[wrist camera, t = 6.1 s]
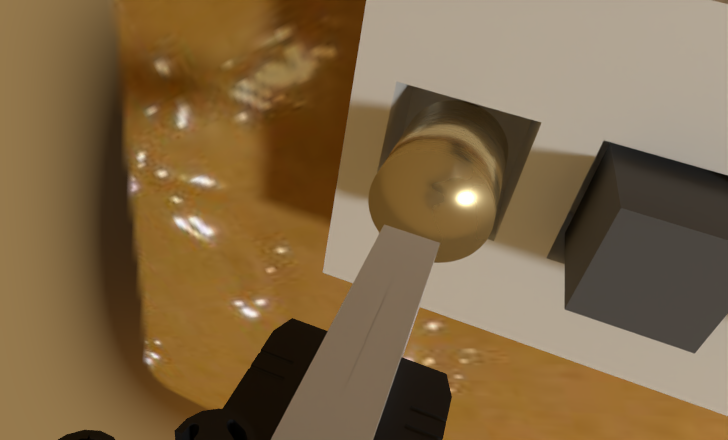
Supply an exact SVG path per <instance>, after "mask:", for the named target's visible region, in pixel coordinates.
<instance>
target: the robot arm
mask: <svg viewBox="0 0 728 440" xmlns="http://www.w3.org/2000/svg"><path fill="white" fill-rule="evenodd" d="M439 245H440V243H439V242H436V241H433V240H430V239H427V238H424V237H421V236H418V235H415V234H412V233H409V232H406V231H403V230H399V229H396V228H393V227H390V226H387V225H384V226H383V228H382V229H381V231H380V233H379V235H378V237H377V239H376V241H375V243H374V245H373V247H372V248H371V250H370V252H369V254H368V256H367V258H366V260H365V262H364V264H363V266H362V267H361V269H360V271H359V273H358V275H357V277H356V279H355V281H354V283H353V285H352V286H351V288H350V290H349V292H348V294H347V296H346V298H345V300H344V302H343V303H342V305H341V307H340V309H339V311H338V313H337V315H336V317H335V319H334V321H333V322H332V324H331V326H330V328H329V330H328V331H326V330H323V329H320V328H317V327H315V326H312V325H309V324H307V323H304V322H301V321H299V320H296V319H293V318H292V319H290V320H289V321H287V322H286V323H284V324H283V325H281V326H280V327H278V328H277V329H275V330H274V331H273V332H272V334H271V335H270V337H269V338H268V340H267V341H266V343H265V344H264V346H263V347H262V349H261V352H260V353H259V354H258V355H257V357H256V358H255V360H254V361H253V363H252V364H251V367H250V369H248V371H247V372H246V374H245V375H244V377H243V378H242V380H241V381H240V383H239V384H238V386H237V387H236V389H235V391H234V392H233V394H232V395H231V397H230V398H229V400H228V401H227V403H226V404H225V406H224V407H223V409H213V410H206V411H201V412H199V413H197V414H195V415H194V416H191V417H190V418H187V419H186V420H185V421H184V422H183V423H182V424H181V425H180V426H179V427H178V428H177V429H176V430H175V440H442V439H443V435H444V430H445V425H446V420H447V416H448V412H449V407H450V402H451V398H452V396H451V392H450V388H449V383H448V379H447V375H446V374H445V373H443V372H440V371H437V370H435V369H432V368H429V367H426V366H424V365H421V364H418V363H416V362H413V361H410V360H408V359H405V358H402V357H403V354H404V351H405V348H406V346H407V343H408V340H409V337H410V334H411V331H412V328H413V325H414V322H415V319H416V316H417V313H418V310H419V307H420V304H421V301H422V297H423V294H424V291H425V288H426V285H427V282H428V279H429V276H430V273H431V270H432V267H433V263H434V260H435V257H436V254H437V251H438V248H439ZM58 440H115V439H114V437H112V436H110V435H108V434H106V433H104V432H102V431H94V430H82V431H78V432H75V433H71V434H67V435H65V436H63V437H62V438H60V439H58Z"/></svg>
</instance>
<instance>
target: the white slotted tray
mask: <svg viewBox="0 0 728 440" xmlns="http://www.w3.org/2000/svg"><path fill="white" fill-rule="evenodd" d="M446 100H460V101H465V102H470V103H472V104H475V105H477V106H479V107H481V108H483V109H485V110H486V111H488V112H489V113H490V114H491V115H492V116H493V117H494V118H495V119H496V120H497V121H498V122H499V124H500V125H501V127H502V128H503V131H504V133H505V135H506V138H507V142H508V160H507V165H506V169H505V174H504V179H503V183H502V188H501V193H500V198H499V202H498V207H497V212H496V217H495V221H494V225H493V229H492V231H491V234H490V236H489V237H488V239H487V240H486V242H485V243H484V244H483V245H482V246H481V247H480V248H479V249H478V250H477V251H476V252H474V253H473V254H471V255H469V256H467V257H465V258H463V259H460V260H456V261H452V262H445V263H433V267H432V270H431V273H430V276H429V279H428V282H427V285H426V288H425V291H424V294H423V297H422V301H421V304H420V307H421V308H424V309H427V310H430V311H433V312H436V313H438V314H441V315H444V316H447V317H450V318H452V319H455V320H458V321H461V322H464V323H467V324H469V325H472V326H475V327H478V328H481V329H483V330H486V331H489V332H492V333H495V334H498V335H500V336H503V337H506V338H509V339H512V340H515V341H517V342H520V343H523V344H526V345H529V346H531V347H534V348H537V349H540V350H543V351H546V352H548V353H551V354H554V355H557V356H560V357H563V358H565V359H568V360H571V361H574V362H577V363H579V364H582V365H585V366H588V367H591V368H594V369H596V370H599V371H602V372H605V373H608V374H610V375H613V376H616V377H619V378H622V379H625V380H627V381H630V382H633V383H636V384H639V385H642V386H644V387H647V388H650V389H653V390H656V391H658V392H661V393H664V394H667V395H670V396H673V397H675V398H678V399H681V400H684V401H687V402H689V403H692V404H695V405H698V406H701V407H704V408H706V409H709V410H712V411H715V412H718V413H721V414H723V415H726V416H728V314H727V315H726V316H725V318H724V319H723V320H722V321H721V322H720V324H719V325H718V326H717V327H716V328H715V330H714V331H713V332H712V333H711V334H710V336H709V337H708V338H707V339H706V341H705V342H704V343H703V344H702V345H701V347H700V348H699V349H698V350H697V351H696V353H695V354H694V353H691V352H688V351H685V350H683V349H680V348H677V347H674V346H671V345H668V344H665V343H662V342H659V341H656V340H653V339H650V338H647V337H644V336H641V335H638V334H635V333H632V332H629V331H627V330H624V329H621V328H618V327H615V326H612V325H609V324H606V323H603V322H600V321H597V320H594V319H591V318H588V317H585V316H582V315H579V314H576V313H573V312H571V311H568V310H565V309H564V295H565V232H566V230H567V228H568V226H569V224H570V222H571V220H572V218H573V216H574V214H575V212H576V210H577V208H578V206H579V204H580V202H581V200H582V198H583V196H584V194H585V192H586V190H587V188H588V186H589V184H590V182H591V180H592V178H593V176H594V174H595V172H596V170H597V168H598V166H599V164H600V162H601V160H602V158H603V156H604V154H605V152H606V150H607V148H608V145H609V143H610V142H611V143H615V144H618V145H622V146H625V147H629V148H632V149H636V150H639V151H643V152H646V153H650V154H653V155H657V156H660V157H664V158H667V159H671V160H674V161H678V162H682V163H685V164H689V165H692V166H696V167H699V168H703V169H706V170H710V171H713V172H717V173H720V174H724V175H727V176H728V0H366V5H365V11H364V18H363V24H362V30H361V36H360V43H359V49H358V55H357V61H356V68H355V74H354V80H353V86H352V93H351V99H350V105H349V111H348V118H347V124H346V130H345V136H344V143H343V149H342V155H341V161H340V168H339V174H338V180H337V186H336V193H335V199H334V205H333V211H332V218H331V224H330V230H329V236H328V243H327V249H326V255H325V261H324V268H323V273H325V274H328V275H331V276H334V277H337V278H340V279H342V280H345V281H348V282H351V283H354V281H355V279H356V277H357V275H358V273H359V271H360V269H361V267H362V266H363V264H364V262H365V260H366V258H367V256H368V254H369V252H370V250H371V248H372V247H373V245H374V243H375V241H376V239H377V237H378V235H379V232H378V230H377V228H376V227H375V225H374V223H373V221H372V218H371V215H370V211H369V205H368V197H369V190H370V187H371V184H372V182H373V179H374V177H375V176H376V174H377V173H378V171H379V170H380V168H381V167H382V165H383V164H384V162H385V160H386V159H387V157H388V156H389V154H390V153H391V151H392V150H393V148H394V147H395V145H396V143H397V142H398V140H399V139H400V137H401V136H402V134H403V133H404V131H405V130H406V128H407V126H408V125H409V123H410V122H411V120H412V119H413V118H414V117H415V116H416V114H418V113H419V112H420V111H421V110H423V109H424V108H426V107H427V106H429V105H432V104H434V103H437V102H440V101H446Z"/></svg>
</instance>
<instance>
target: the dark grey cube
mask: <svg viewBox="0 0 728 440" xmlns="http://www.w3.org/2000/svg"><path fill="white" fill-rule="evenodd" d="M564 309H565V310H568V311H571V312H573V313H576V314H579V315H582V316H585V317H588V318H591V319H594V320H597V321H600V322H603V323H606V324H609V325H612V326H615V327H618V328H621V329H624V330H627V331H629V332H632V333H635V334H638V335H641V336H644V337H647V338H650V339H653V340H656V341H659V342H662V343H665V344H668V345H671V346H674V347H677V348H680V349H683V350H685V351H688V352H691V353H694V354H695V353H696V351H697V350H698V349H699V348H700V347H701V345H702V344H703V343H704V342H705V341H706V339H707V338H708V337H709V336H710V334H711V333H712V332H713V331H714V330H715V328H716V327H717V326H718V325H719V324H720V322H721V321H722V320H723V319H724V318H725V316H726V315H727V314H728V176H727V175H724V174H720V173H717V172H713V171H710V170H706V169H703V168H699V167H696V166H692V165H689V164H685V163H682V162H678V161H674V160H671V159H667V158H664V157H660V156H657V155H653V154H650V153H646V152H643V151H639V150H636V149H632V148H629V147H625V146H622V145H618V144H615V143H611V142H610V143H609V145H608V148H607V150H606V152H605V154H604V156H603V158H602V160H601V162H600V164H599V166H598V168H597V170H596V172H595V174H594V176H593V178H592V180H591V182H590V184H589V186H588V188H587V190H586V192H585V194H584V196H583V198H582V200H581V202H580V204H579V206H578V208H577V210H576V212H575V214H574V216H573V218H572V220H571V222H570V224H569V226H568V228H567V230H566V232H565V295H564Z"/></svg>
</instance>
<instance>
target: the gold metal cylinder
mask: <svg viewBox="0 0 728 440" xmlns="http://www.w3.org/2000/svg"><path fill="white" fill-rule="evenodd" d="M507 160H508V142H507V138H506V135H505V133H504V131H503V128H502V127H501V125H500V124H499V122H498V121H497V120H496V119H495V118H494V117H493V116H492V115H491V114H490V113H489V112H488V111H486V110H485V109H483V108H481V107H479V106H477V105H475V104H472V103H470V102H465V101H460V100H446V101H440V102H437V103H434V104H432V105H429V106H427V107H426V108H424V109H423V110H421V111H420V112H419V113H418V114H416V116H415V117H414V118H413V119H412V120H411V122H410V123H409V125H408V126H407V128H406V130H405V131H404V133H403V134H402V136H401V137H400V139H399V140H398V142H397V143H396V145H395V147H394V148H393V150H392V151H391V153H390V154H389V156H388V157H387V159H386V160H385V162H384V164H383V165H382V167H381V168H380V170H379V171H378V173H377V174H376V176H375V177H374V179H373V182H372V184H371V187H370V190H369V197H368V205H369V211H370V215H371V218H372V221H373V223H374V225H375V227H376V228H377V230H378V232H379V233H380V231H381V229H382V228H383V226H384V225H387V226H390V227H393V228H396V229H399V230H403V231H406V232H409V233H412V234H415V235H418V236H421V237H424V238H427V239H430V240H433V241H436V242H439V243H440V245H439V248H438V251H437V254H436V257H435V260H434V263H445V262H452V261H456V260H460V259H463V258H465V257H467V256H469V255H471V254H473V253H474V252H476V251H477V250H478V249H479V248H480V247H481V246H482V245H483V244H484V243H485V242H486V240H487V239H488V237H489V236H490V234H491V231H492V229H493V225H494V221H495V217H496V212H497V207H498V202H499V198H500V193H501V188H502V183H503V179H504V174H505V169H506V165H507Z"/></svg>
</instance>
